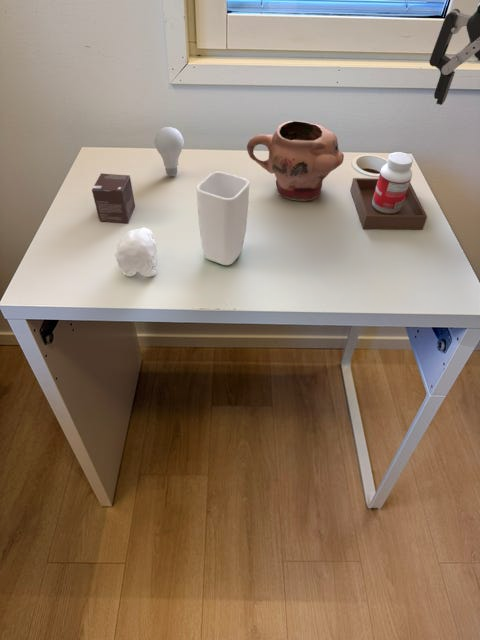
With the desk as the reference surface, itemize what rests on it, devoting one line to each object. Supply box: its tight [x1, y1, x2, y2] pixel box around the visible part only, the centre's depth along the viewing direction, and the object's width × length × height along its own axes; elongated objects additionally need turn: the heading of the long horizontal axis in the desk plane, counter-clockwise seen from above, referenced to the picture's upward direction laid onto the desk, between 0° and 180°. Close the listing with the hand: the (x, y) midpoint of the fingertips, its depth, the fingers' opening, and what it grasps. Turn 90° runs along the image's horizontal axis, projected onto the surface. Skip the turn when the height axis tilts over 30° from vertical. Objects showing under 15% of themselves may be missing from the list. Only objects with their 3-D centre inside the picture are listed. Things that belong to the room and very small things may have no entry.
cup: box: [196, 170, 250, 266], centre depth 81 cm, size 7×7×15 cm
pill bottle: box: [372, 151, 414, 214], centre depth 94 cm, size 6×6×11 cm
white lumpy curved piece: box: [114, 226, 157, 278], centre depth 82 cm, size 6×8×12 cm
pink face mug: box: [246, 120, 345, 201], centre depth 98 cm, size 20×12×14 cm, turn 87°
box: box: [91, 173, 136, 224], centre depth 92 cm, size 6×6×7 cm
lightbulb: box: [154, 126, 185, 178], centre depth 101 cm, size 6×6×11 cm
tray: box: [350, 177, 428, 231], centre depth 98 cm, size 14×12×3 cm
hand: (472, 110), depth 62 cm, fingers open, 8 cm apart
